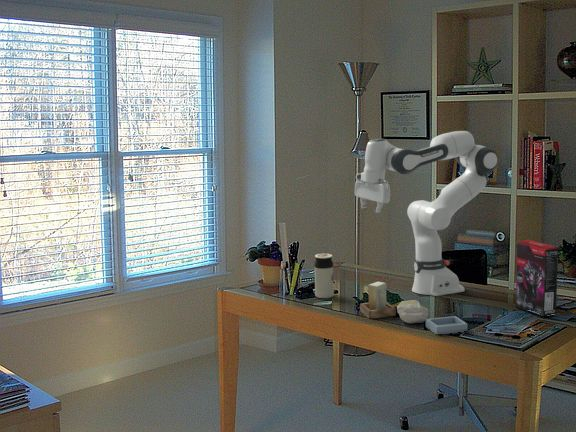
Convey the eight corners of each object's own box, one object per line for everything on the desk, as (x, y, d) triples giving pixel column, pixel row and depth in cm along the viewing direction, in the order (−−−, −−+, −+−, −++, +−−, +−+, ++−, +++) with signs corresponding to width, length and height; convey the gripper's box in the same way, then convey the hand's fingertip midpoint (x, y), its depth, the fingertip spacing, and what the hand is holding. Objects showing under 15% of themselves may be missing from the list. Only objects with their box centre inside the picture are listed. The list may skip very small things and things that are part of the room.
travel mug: (312, 297, 338) (311, 256, 334) (320, 292, 345) (319, 252, 341) (329, 299, 334) (328, 258, 331) (336, 294, 341) (335, 254, 338)
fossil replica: (434, 322, 300) (414, 318, 308) (434, 300, 299) (414, 297, 307) (412, 326, 292) (393, 322, 300) (412, 304, 292) (392, 301, 300)
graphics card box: (513, 307, 314) (515, 240, 310) (527, 305, 317) (529, 238, 312) (543, 319, 299) (545, 248, 294) (557, 316, 301) (559, 246, 297)
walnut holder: (385, 308, 319) (385, 301, 318) (395, 315, 308) (395, 308, 308) (360, 310, 316) (359, 303, 316) (369, 318, 306) (368, 311, 305)
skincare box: (378, 310, 316) (378, 281, 314) (387, 312, 313) (386, 282, 311) (368, 314, 312) (367, 284, 310) (376, 316, 309) (376, 286, 307)
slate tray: (455, 323, 296) (455, 316, 296) (467, 331, 287) (467, 323, 286) (425, 326, 294) (425, 319, 293) (436, 335, 284) (436, 327, 284)
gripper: (395, 181, 318) (392, 215, 320) (365, 174, 335) (362, 206, 337) (383, 181, 315) (379, 215, 317) (353, 174, 332) (350, 206, 334)
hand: (370, 210), depth 327 cm, fingers open, 8 cm apart
